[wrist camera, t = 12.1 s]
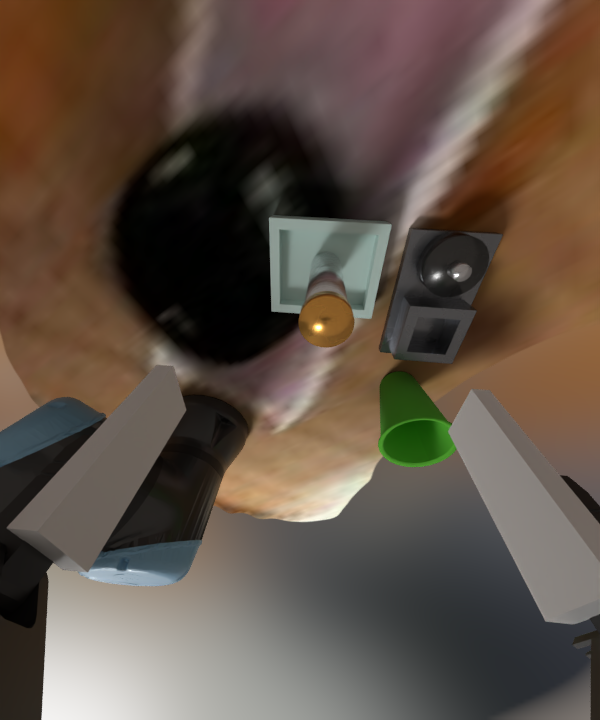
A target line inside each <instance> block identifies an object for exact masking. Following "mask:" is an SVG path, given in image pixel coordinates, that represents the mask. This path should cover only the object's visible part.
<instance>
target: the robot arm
mask: <svg viewBox="0 0 600 720" xmlns="http://www.w3.org/2000/svg"><path fill="white" fill-rule="evenodd" d="M448 433H449V435H450V436H451V438H452V440H453V442H454V444H455V446H456V448H457V450H458V452H459V454H460V456H461V458H462V460H463V462H464V464H465V466H466V468H467V469H468V471H469V473H470V475H471V477H472V479H473V481H474V483H475V485H476V487H477V489H478V491H479V493H480V495H481V497H482V498H483V500H484V503H485V505H486V506H487V508H488V510H489V512H490V514H491V516H492V518H493V520H494V522H495V524H496V526H497V528H498V530H499V532H500V534H501V536H502V538H503V539H504V541H505V543H506V545H507V547H508V549H509V551H510V553H511V555H512V557H513V559H514V561H515V563H516V565H517V567H518V569H519V571H520V572H521V574H522V576H523V578H524V580H525V582H526V584H527V586H528V588H529V590H530V592H531V594H532V596H533V598H534V600H535V602H536V603H537V606H538V608H539V610H540V611H541V613H542V615H543V617H544V619H545V621H548V622H556V623H566V624H577V623H579V622H582V621H585V620H588V619H590V620H591V621H592V623H593V624H594V626H595V628H596V629H597V630H596V631H593V632H590V633H587V634H584V635H581V636H578V637H575V639H574V642H573V646H575V647H576V648H577V649H579V648H583V647H586V646H590V645H591V651H589V652H587V653H586V656H587V657H589V658H590V659H591V720H600V506H599V505H598V504H597V503H596V502H595V501H594V499H593V498H592V497H591V496H590V495H589V493H588V492H587V491H585V490H584V489H583V488H582V487H580V486H579V485H578V484H577V483H576V482H574V481H573V480H572V479H571V478H569V477H568V476H561V475H559V474H558V473H557V471H556V470H555V469H554V468H553V467H552V466H551V464H550V463H549V462H548V461H547V459H546V458H545V457H544V456H543V455H542V453H541V452H540V451H539V450H538V448H537V447H536V446H535V445H534V444H533V442H532V441H531V440H530V439H529V437H528V436H527V435H526V434H525V433H524V432H523V430H522V429H521V428H520V427H519V425H518V424H517V423H516V422H515V420H514V419H513V418H512V417H511V416H510V414H509V413H508V412H507V411H506V410H505V408H504V407H503V406H502V405H501V403H500V402H499V401H498V400H497V399H496V397H495V396H494V395H493V394H492V392H491V391H490V390H478V389H471V391H470V393H469V395H468V396H467V398H466V400H465V402H464V404H463V405H462V407H461V409H460V411H459V413H458V415H457V416H456V418H455V420H454V422H453V423H452V425H451V427H450V429H449V431H448ZM247 435H248V427H247V424H246V422H245V420H244V418H243V417H242V415H241V414H240V413H239V412H238V411H237V410H236V409H234V408H233V407H232V406H230V405H228V404H227V403H225V402H223V401H221V400H218V399H215V398H212V397H208V396H201V395H191V396H185V397H182V394H181V390H180V387H179V383H178V380H177V377H176V373H175V370H174V367H173V366H163V365H156V366H155V368H154V369H153V370H152V371H151V372H150V373H149V374H148V375H147V376H146V377H145V378H144V379H143V380H142V382H141V383H140V384H139V385H138V386H137V387H136V388H135V389H134V390H133V391H132V392H131V393H130V395H129V396H128V397H127V398H126V399H125V400H124V401H123V402H122V403H121V404H120V405H119V406H118V408H117V409H116V410H115V411H114V412H113V413H112V414H111V415H110V416H109V417H108V418H106V415H105V414H104V413H99V412H97V411H96V410H94V409H92V408H91V407H89V406H88V405H86V404H84V403H83V402H81V401H80V400H78V399H75V398H71V397H61V398H56V399H54V400H51V401H50V402H48V403H46V404H45V405H43V406H41V407H40V408H38V409H36V410H35V411H33V412H32V413H30V414H28V415H27V416H25V417H24V418H22V419H20V420H19V421H17V422H16V423H14V424H12V425H11V426H9V427H7V428H6V429H4V430H2V431H1V432H0V720H41V715H42V696H43V676H44V656H45V638H46V618H47V599H48V598H47V597H48V576H47V573H46V572H47V570H48V569H49V567H50V566H51V565H52V563H54V564H56V565H57V566H58V567H60V568H61V569H63V570H69V571H78V573H79V574H80V575H81V576H85V577H86V578H88V579H92V580H95V581H100V582H106V583H112V584H121V585H133V586H162V585H169V584H173V583H176V582H178V581H180V580H181V579H182V578H183V577H184V576H185V575H186V574H187V573H188V571H189V569H190V567H191V565H192V562H193V560H194V557H195V555H196V553H197V550H198V548H199V546H200V545H201V543H202V537H203V534H204V531H205V528H206V525H207V522H208V519H209V516H210V514H211V511H212V508H213V505H214V502H215V499H216V496H217V493H218V490H219V487H220V484H221V481H222V478H223V476H224V473H225V471H226V470H227V469H228V467H229V466H230V465H231V463H232V462H233V461H234V459H235V458H236V457H237V455H238V454H239V453H240V451H241V450H242V449H243V447H244V445H245V441H246V438H247Z"/></svg>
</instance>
